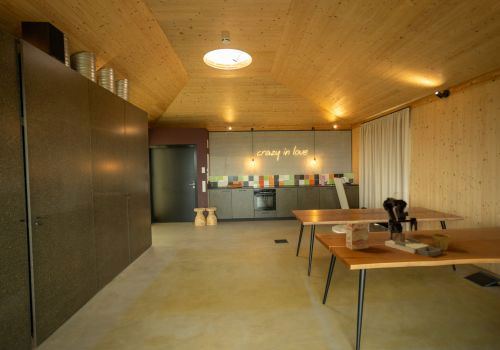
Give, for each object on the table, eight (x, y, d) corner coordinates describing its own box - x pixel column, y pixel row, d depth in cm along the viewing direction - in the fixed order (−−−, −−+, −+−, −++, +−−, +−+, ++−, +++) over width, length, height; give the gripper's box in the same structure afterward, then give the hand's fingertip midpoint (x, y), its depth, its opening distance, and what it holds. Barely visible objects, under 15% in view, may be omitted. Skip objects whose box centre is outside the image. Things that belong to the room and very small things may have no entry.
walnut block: (392, 241, 200) (392, 233, 200) (397, 240, 202) (397, 232, 202) (400, 243, 194) (400, 235, 194) (405, 241, 197) (405, 234, 197)
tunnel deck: (385, 245, 199) (385, 238, 199) (399, 242, 207) (399, 235, 207) (428, 257, 171) (428, 249, 171) (443, 253, 179) (443, 245, 179)
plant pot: (442, 251, 183) (442, 237, 183) (429, 247, 193) (429, 234, 193) (454, 250, 185) (454, 236, 185) (440, 246, 195) (440, 233, 195)
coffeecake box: (352, 250, 188) (351, 223, 188) (345, 247, 195) (345, 221, 195) (369, 248, 192) (369, 222, 192) (362, 245, 199) (362, 220, 199)
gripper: (387, 209, 202) (391, 227, 192) (414, 207, 195) (420, 225, 186) (386, 216, 210) (390, 234, 200) (413, 214, 203) (418, 232, 193)
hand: (404, 231), depth 195 cm, fingers open, 9 cm apart
